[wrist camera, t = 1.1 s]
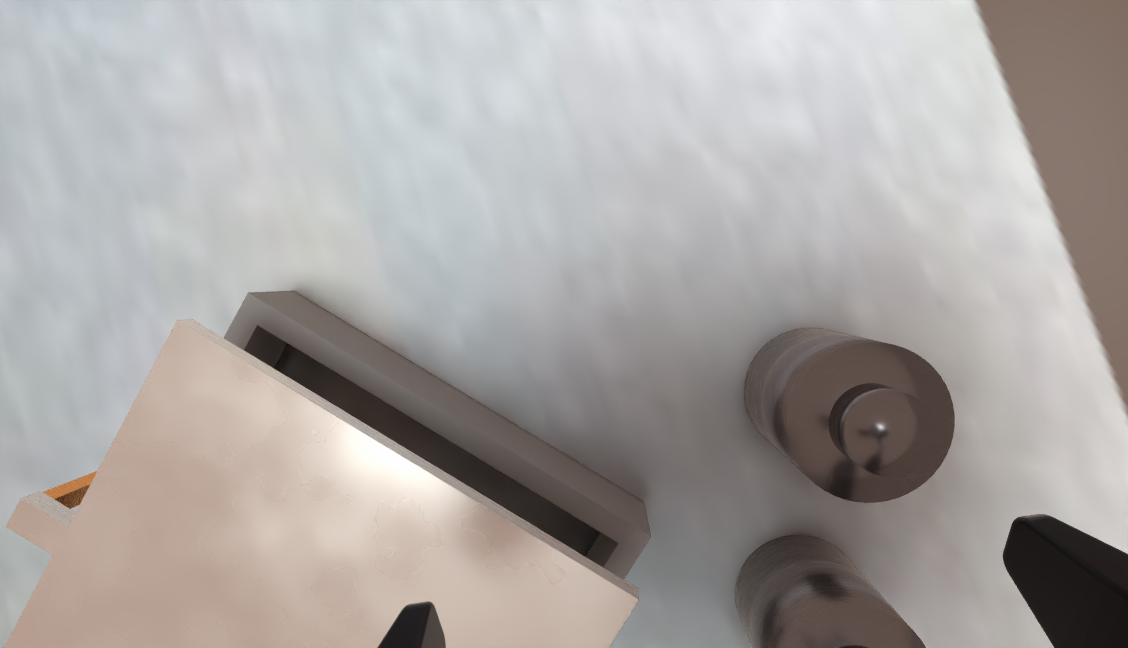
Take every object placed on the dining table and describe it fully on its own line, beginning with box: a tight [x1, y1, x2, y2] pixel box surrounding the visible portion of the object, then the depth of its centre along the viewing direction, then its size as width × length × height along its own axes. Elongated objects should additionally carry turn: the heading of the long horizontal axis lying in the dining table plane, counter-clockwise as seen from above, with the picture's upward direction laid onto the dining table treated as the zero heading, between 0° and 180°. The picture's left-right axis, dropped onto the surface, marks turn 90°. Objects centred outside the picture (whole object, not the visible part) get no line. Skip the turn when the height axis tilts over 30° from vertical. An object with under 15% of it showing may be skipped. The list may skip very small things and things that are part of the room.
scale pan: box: [4, 319, 639, 648], centre depth 19 cm, size 17×15×4 cm
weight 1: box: [744, 328, 954, 503], centre depth 19 cm, size 5×5×6 cm
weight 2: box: [735, 535, 926, 648], centre depth 20 cm, size 5×5×6 cm
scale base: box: [224, 291, 651, 579], centre depth 22 cm, size 16×16×3 cm
